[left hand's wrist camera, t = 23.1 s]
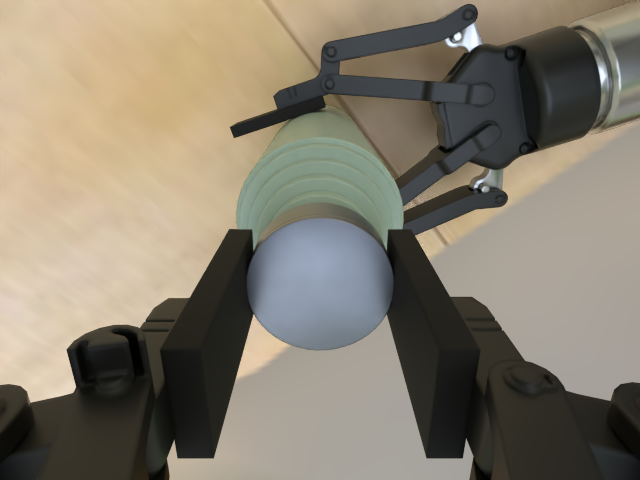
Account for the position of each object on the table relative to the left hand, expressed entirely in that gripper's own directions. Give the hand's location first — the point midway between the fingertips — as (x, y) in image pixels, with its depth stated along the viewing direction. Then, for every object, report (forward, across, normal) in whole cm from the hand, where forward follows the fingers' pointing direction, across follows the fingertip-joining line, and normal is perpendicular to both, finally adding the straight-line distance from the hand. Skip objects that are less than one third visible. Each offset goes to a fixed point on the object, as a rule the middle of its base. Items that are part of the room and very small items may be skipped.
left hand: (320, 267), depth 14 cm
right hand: (+18, -5, -2) cm, 18 cm away
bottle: (+24, 0, 0) cm, 24 cm away
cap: (-1, 0, 0) cm, 1 cm away
